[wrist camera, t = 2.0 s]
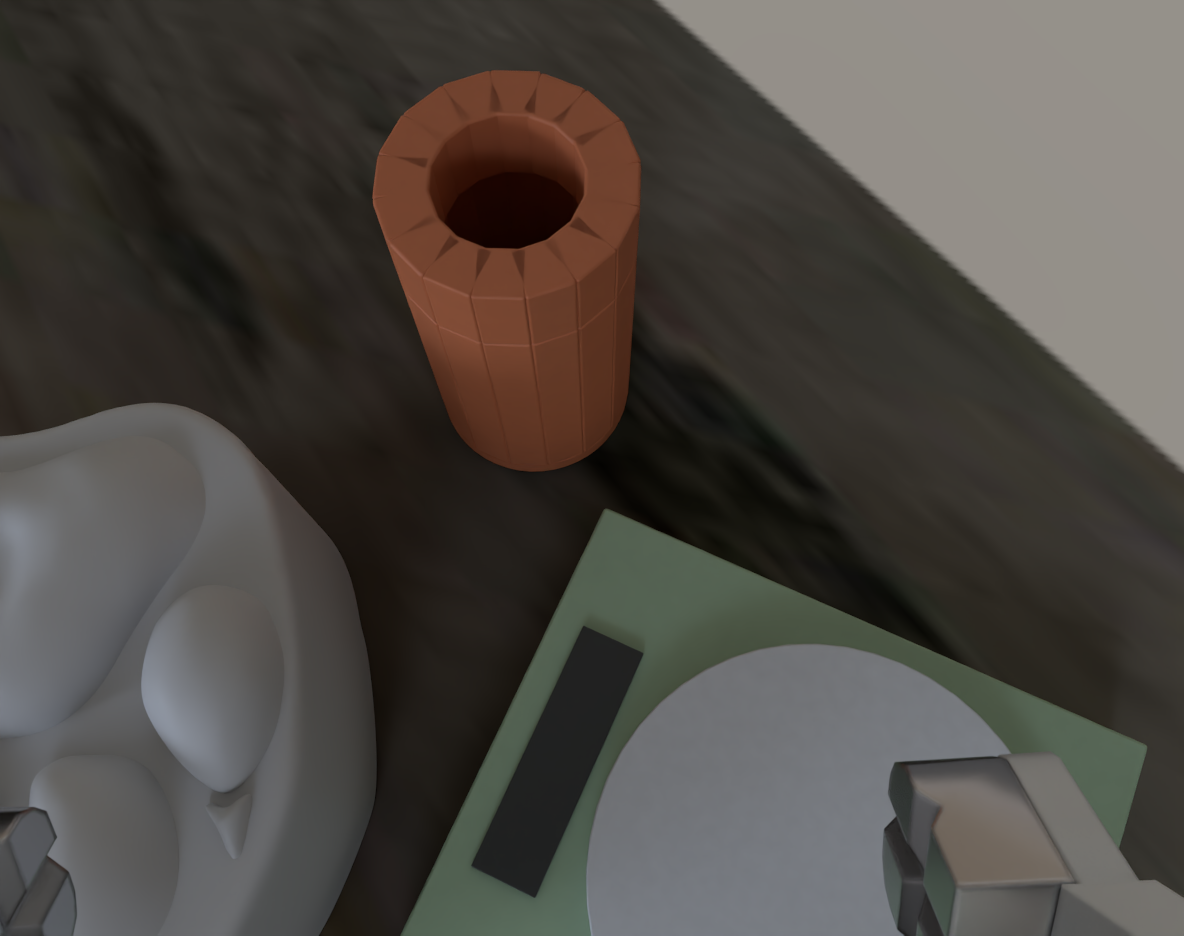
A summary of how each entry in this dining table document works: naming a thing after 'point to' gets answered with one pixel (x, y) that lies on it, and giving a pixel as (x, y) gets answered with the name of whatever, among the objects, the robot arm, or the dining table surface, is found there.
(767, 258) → the dining table surface
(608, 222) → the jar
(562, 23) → the dining table surface
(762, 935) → the scale
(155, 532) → the lumpy-topped squat cylinder
